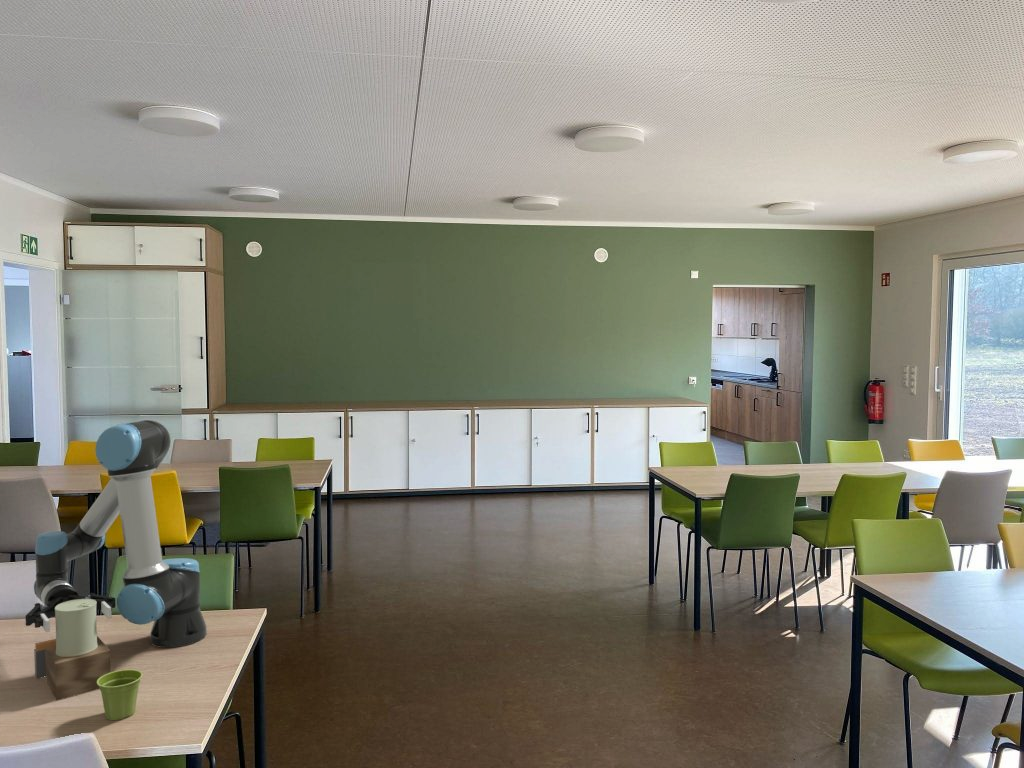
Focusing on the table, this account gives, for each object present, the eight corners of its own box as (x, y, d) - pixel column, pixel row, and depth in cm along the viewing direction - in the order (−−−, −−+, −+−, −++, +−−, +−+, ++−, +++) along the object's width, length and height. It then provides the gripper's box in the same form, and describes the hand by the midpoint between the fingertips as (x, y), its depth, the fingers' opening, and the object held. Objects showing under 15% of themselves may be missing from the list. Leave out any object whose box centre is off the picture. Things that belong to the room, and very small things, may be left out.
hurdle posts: (96, 660, 204) (96, 635, 203) (99, 663, 202) (98, 637, 202) (34, 675, 194) (34, 649, 194) (36, 678, 192) (36, 652, 192)
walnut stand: (98, 670, 198) (97, 636, 197) (111, 685, 189) (110, 650, 188) (46, 683, 190) (45, 648, 189) (56, 700, 181) (55, 664, 180)
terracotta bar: (95, 635, 203) (95, 629, 203) (97, 637, 202) (97, 631, 202) (35, 649, 194) (35, 643, 194) (36, 651, 192) (36, 645, 192)
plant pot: (108, 705, 179) (107, 669, 178) (149, 703, 179) (148, 668, 179) (89, 725, 169) (89, 687, 169) (133, 723, 170) (132, 686, 170)
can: (79, 658, 183) (78, 610, 183) (46, 655, 185) (45, 607, 184) (106, 643, 193) (105, 597, 192) (74, 641, 194) (73, 595, 193)
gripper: (111, 601, 210) (134, 622, 195) (5, 622, 194) (20, 647, 178) (110, 574, 210) (133, 593, 194) (4, 594, 193) (19, 616, 178)
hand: (79, 619), depth 186 cm, fingers open, 13 cm apart
